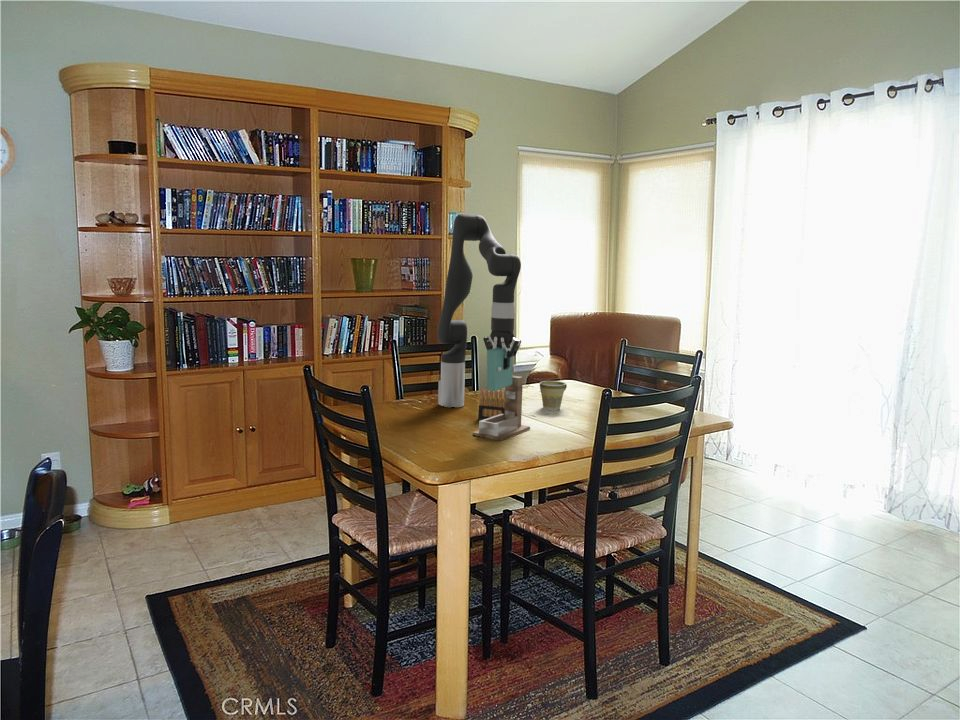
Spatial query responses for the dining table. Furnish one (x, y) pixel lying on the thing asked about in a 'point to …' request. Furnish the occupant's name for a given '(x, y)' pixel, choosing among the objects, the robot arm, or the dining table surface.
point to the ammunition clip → (491, 404)
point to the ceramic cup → (552, 394)
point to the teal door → (497, 370)
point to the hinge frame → (505, 415)
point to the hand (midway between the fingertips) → (501, 368)
